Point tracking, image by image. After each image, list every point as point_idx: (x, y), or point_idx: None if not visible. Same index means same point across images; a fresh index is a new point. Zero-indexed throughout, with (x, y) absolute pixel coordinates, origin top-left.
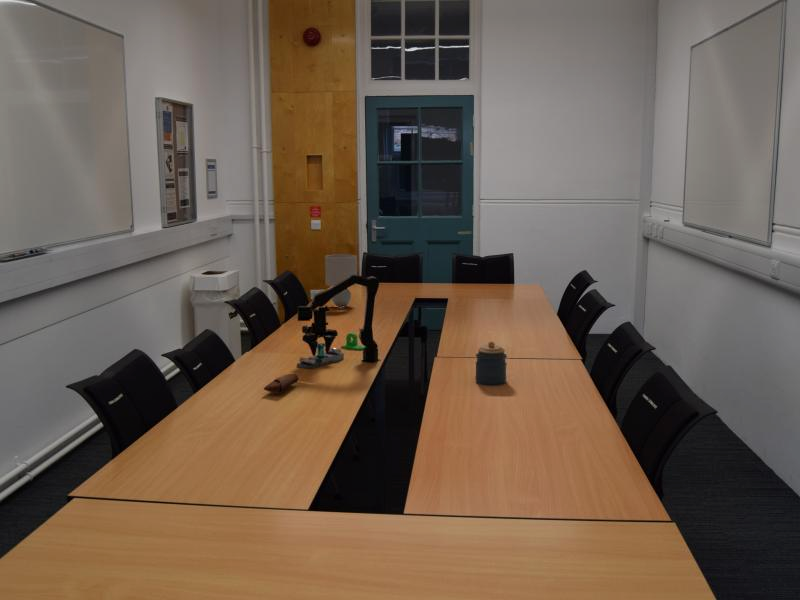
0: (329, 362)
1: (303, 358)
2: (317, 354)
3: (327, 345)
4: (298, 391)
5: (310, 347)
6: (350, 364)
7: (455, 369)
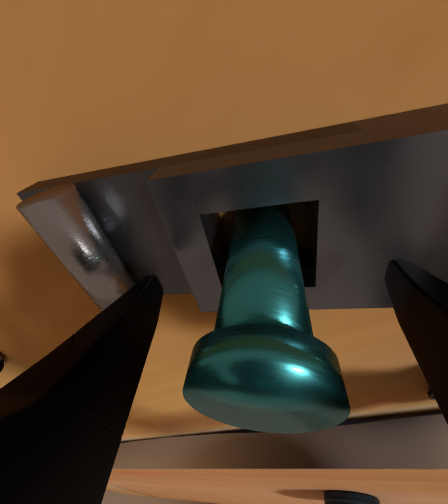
0: None
1: (48, 246)
2: (230, 256)
3: (441, 362)
4: (7, 383)
5: (60, 357)
6: (351, 347)
7: (441, 484)
